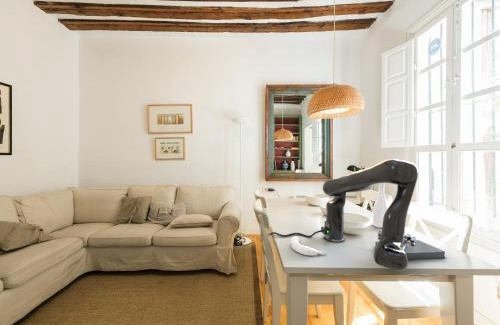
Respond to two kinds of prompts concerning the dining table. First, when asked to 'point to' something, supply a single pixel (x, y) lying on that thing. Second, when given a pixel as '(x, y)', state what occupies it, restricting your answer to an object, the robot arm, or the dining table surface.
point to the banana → (303, 248)
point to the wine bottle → (380, 207)
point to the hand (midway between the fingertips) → (397, 233)
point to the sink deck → (421, 251)
